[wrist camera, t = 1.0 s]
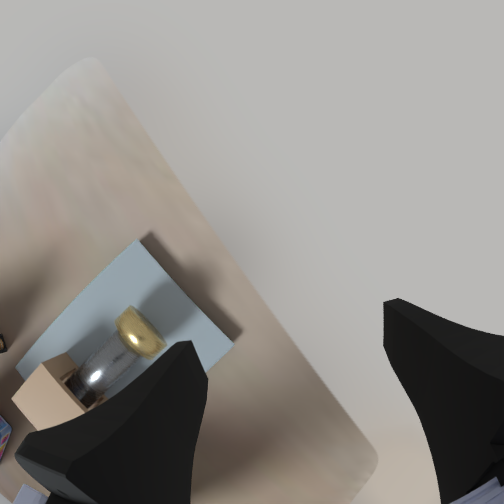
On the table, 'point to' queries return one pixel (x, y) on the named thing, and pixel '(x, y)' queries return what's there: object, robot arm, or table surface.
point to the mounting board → (103, 326)
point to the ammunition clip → (2, 345)
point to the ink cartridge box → (4, 434)
